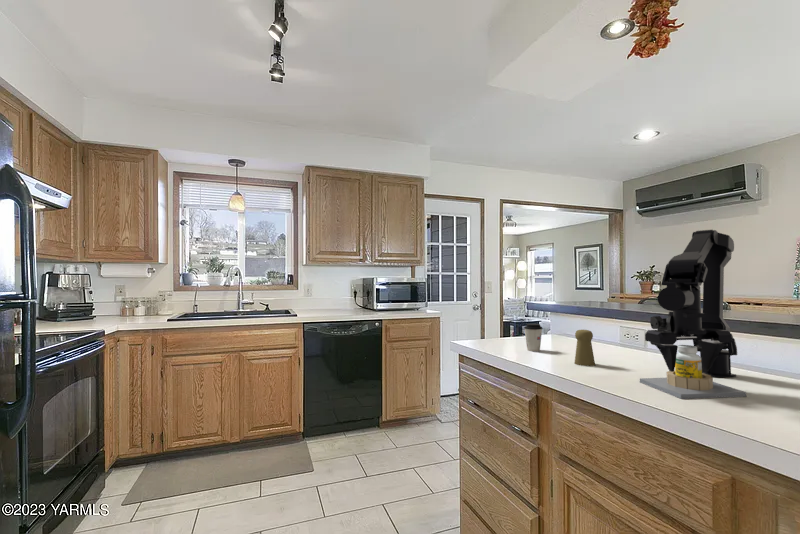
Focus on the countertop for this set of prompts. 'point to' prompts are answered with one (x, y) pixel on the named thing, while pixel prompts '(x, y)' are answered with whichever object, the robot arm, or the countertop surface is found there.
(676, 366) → the supplement bottle
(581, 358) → the cork
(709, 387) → the socket stand
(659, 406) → the countertop surface
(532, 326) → the coffee cup
